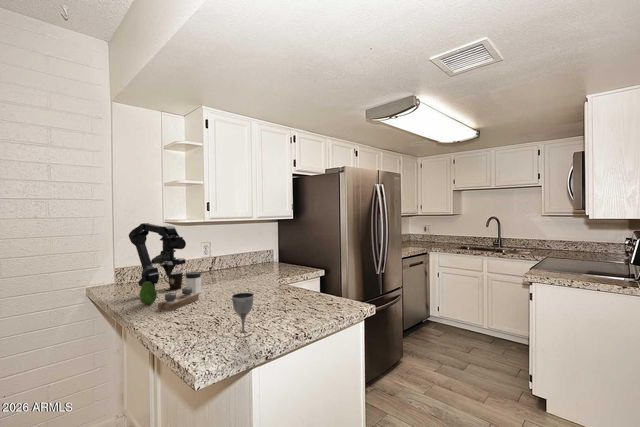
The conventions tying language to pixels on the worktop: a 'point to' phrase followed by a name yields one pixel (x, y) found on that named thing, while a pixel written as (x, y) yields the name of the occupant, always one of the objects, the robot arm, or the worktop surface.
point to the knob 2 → (187, 291)
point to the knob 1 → (170, 296)
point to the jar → (193, 282)
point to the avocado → (148, 293)
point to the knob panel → (177, 302)
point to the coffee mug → (175, 280)
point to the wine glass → (242, 305)
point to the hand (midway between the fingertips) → (168, 276)
